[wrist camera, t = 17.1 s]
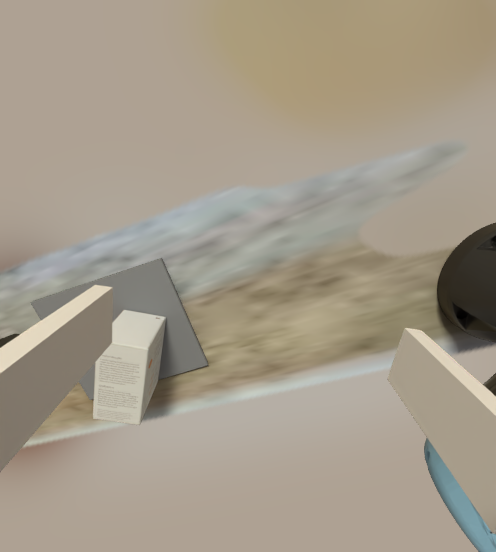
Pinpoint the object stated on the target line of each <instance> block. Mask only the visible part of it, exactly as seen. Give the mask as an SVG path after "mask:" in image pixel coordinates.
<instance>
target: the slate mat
mask: <svg viewBox="0 0 496 552" xmlns="http://www.w3.org/2000/svg"><path fill="white" fill-rule="evenodd" d="M94 285H100V286H108V287H113V315H112V323H113V322H114V320H115V319H116V318H117V317H118V316H119V315H120V314H121V312H122V311H123V310H129V311H134V312H140V313H146V314H152V315H158V316H163V317H166V322H165V330H164V338H163V347H162V355H161V362H160V370H159V377H158V380H160V379H163V378H166V377H170V376H173V375H176V374H180V373H183V372H187V371H190V370H193V369H197V368H200V367H203V366H207V365H208V361H207V359H206V357H205V355H204V352H203V350H202V348H201V346H200V343H199V341H198V339H197V337H196V334H195V332H194V330H193V327H192V325H191V323H190V321H189V318H188V316H187V314H186V312H185V309H184V307H183V305H182V303H181V300H180V298H179V296H178V293H177V291H176V289H175V287H174V284H173V282H172V280H171V278H170V275H169V273H168V271H167V269H166V266H165V264H164V262H163V259H162V258H160V259H157V260H154V261H151V262H148V263H145V264H142V265H139V266H136V267H133V268H130V269H127V270H125V271H122V272H119V273H116V274H113V275H110V276H107V277H104V278H101V279H98V280H95V281H92V282H89V283H86V284H83V285H80V286H77V287H74V288H71V289H68V290H65V291H62V292H59V293H56V294H53V295H50V296H47V297H44V298H41V299H38V300H35V301H33V302H31V305H32V306H33V308H34V310H35V311H36V313H37V314H38V316H39V318H40V319H41V320H43V319H44V318H46V317H47V316H49V315H50V314H52V313H54V312H55V311H57V310H58V309H60V308H61V307H63V306H64V305H66V304H67V303H69V302H70V301H72V300H73V299H75V298H76V297H78V296H79V295H81V294H82V293H84V292H85V291H87V290H88V289H90V288H91V287H93V286H94ZM94 382H95V363H94V364H93V365H92V366H91V368H90V369H89V370H88V371H87V372H86V373H85V375H84V376H83V377H82V378H81V379H80V380H79V383H80V384H81V386H82V388H83V389H84V391H85V392H86V394H87V396H88V397H89V399H90V400H92V399H94Z"/></svg>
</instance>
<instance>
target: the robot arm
mask: <svg viewBox="0 0 496 552" xmlns="http://www.w3.org/2000/svg"><path fill="white" fill-rule="evenodd" d="M438 298H439V303H440V306H441V308H442V310H443V312H444V314H445V315H446V316H447V318H448V319H449V320H450V321H451V322H452V323H454V324H455V325H457V326H458V327H459V328H461V329H462V330H464V331H465V332H467V333H469V334H471V335H473V336H475V337H478V338H481V339H485V340H488V341H492V342H496V223H493V224H490V225H488V226H485V227H483V228H481V229H479V230H477V231H476V232H474V233H473V234H472V235H470V236H468V237H467V238H466V239H465V240H463V241H462V242H461V243H460V244H459V245H458V246H457V247H456V248H455V250H454V251H453V252H452V253H451V255H450V256H449V258H448V259H447V261H446V263H445V265H444V267H443V269H442V272H441V275H440V278H439V283H438ZM112 315H113V287H108V286H100V285H94V286H93V287H91V288H90V289H88V290H87V291H85V292H84V293H82V294H81V295H79V296H78V297H76V298H75V299H73V300H72V301H70V302H69V303H67V304H66V305H64V306H63V307H61V308H60V309H58V310H57V311H55V312H54V313H52V314H50V315H49V316H47V317H46V318H44V319H43V320H41V321H40V322H38V323H37V324H35V325H34V326H32V327H31V328H29V329H28V330H26V331H25V332H23V333H22V334H13V335H10V336H7V337H5V338H2V339H0V472H1V471H2V470H3V468H4V467H5V466H6V465H7V464H8V463H9V461H10V460H11V459H12V458H13V457H14V456H15V454H16V453H17V452H18V451H19V450H20V449H21V448H22V446H23V445H24V444H25V443H26V442H27V441H28V439H29V438H30V437H31V436H32V435H33V434H34V433H35V431H36V430H37V429H38V428H39V427H40V426H41V424H42V423H43V422H44V421H45V420H46V419H47V417H48V416H49V415H50V414H51V413H52V412H53V411H54V409H55V408H56V407H57V406H58V405H59V404H60V402H61V401H62V400H63V399H64V398H65V397H66V395H67V394H68V393H69V392H70V391H71V390H72V388H73V387H74V386H75V385H76V384H77V383H78V382H79V380H80V379H81V378H82V377H83V376H84V375H85V373H86V372H87V371H88V370H89V369H90V368H91V366H92V365H93V364H94V363H95V362H96V361H97V360H98V358H99V357H100V356H101V355H102V354H103V353H104V351H105V350H106V349H107V348H108V347H109V346H110V344H111V343H112ZM388 381H389V382H390V384H391V385H392V387H393V388H394V390H395V391H396V393H397V394H398V396H399V397H400V399H401V400H402V401H403V403H404V404H405V406H406V407H407V409H408V410H409V412H410V413H411V415H412V416H413V418H414V419H415V420H416V422H417V423H418V425H419V426H420V428H421V429H422V431H423V432H424V433H425V435H426V437H427V439H426V442H425V446H424V453H425V460H426V463H427V465H428V470H429V473H430V475H431V478H432V480H433V482H434V484H435V486H436V488H437V490H438V492H439V494H440V496H441V498H442V499H443V501H444V503H445V504H446V506H447V508H448V509H449V511H450V513H451V514H452V516H453V517H454V519H455V520H456V522H457V523H458V525H459V526H460V528H461V529H462V531H463V532H464V533H465V534H466V536H467V537H468V539H469V540H470V541H471V543H472V544H473V545H474V546H475V548H476V549H477V550H478V551H479V552H496V373H495V374H494V375H493V376H492V377H491V378H490V379H489V380H488V381H487V382H485V383H484V384H483V385H482V384H481V383H480V382H479V381H478V380H477V379H475V377H473V376H472V375H471V374H470V373H469V372H468V371H467V370H466V369H464V368H463V367H462V366H461V365H460V364H459V363H458V362H456V361H455V360H454V359H453V358H452V357H451V356H450V355H449V354H447V353H446V352H445V351H444V350H443V349H442V348H441V347H439V346H438V345H437V344H436V343H435V342H434V341H433V340H432V339H430V338H429V337H428V336H427V335H426V334H425V333H424V332H423V331H421V330H416V329H409V328H404V331H403V334H402V337H401V340H400V343H399V346H398V349H397V352H396V355H395V358H394V361H393V364H392V367H391V370H390V373H389V376H388Z"/></svg>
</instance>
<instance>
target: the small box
mask: <svg viewBox="0 0 496 552" xmlns="http://www.w3.org/2000/svg"><path fill="white" fill-rule="evenodd" d="M165 322H166V317H163V316H158V315H152V314H146V313H140V312H134V311H129V310H123V311H122V312H121V314H120V315H119V316H118V317H117V318H116V319H115V320H114V322H113V323H112V343H111V344H110V346H109V347H108V348H107V349H106V350H105V351H104V353H103V354H102V355H101V356H100V357H99V358H98V360H97V361H96V362H95V382H94V406H93V418H94V419H99V420H107V421H114V422H121V423H128V424H134V425H140V424H141V421H142V419H143V416H144V414H145V411H146V409H147V407H148V404H149V402H150V399H151V397H152V394H153V392H154V390H155V387H156V385H157V383H158V377H159V370H160V362H161V355H162V347H163V338H164V330H165Z"/></svg>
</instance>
